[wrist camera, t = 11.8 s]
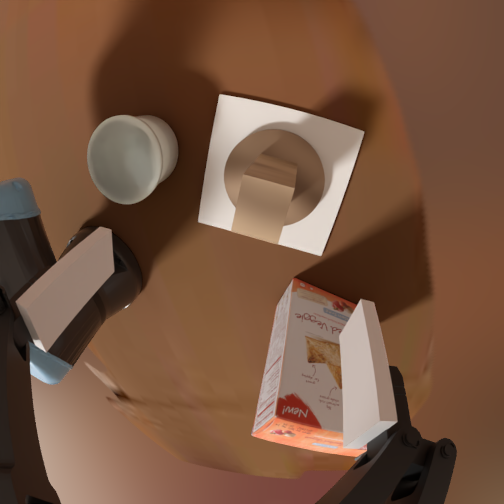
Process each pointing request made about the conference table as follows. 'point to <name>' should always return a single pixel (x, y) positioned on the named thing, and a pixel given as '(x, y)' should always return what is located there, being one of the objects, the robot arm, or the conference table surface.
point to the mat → (302, 124)
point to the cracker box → (305, 372)
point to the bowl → (131, 156)
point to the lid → (272, 182)
